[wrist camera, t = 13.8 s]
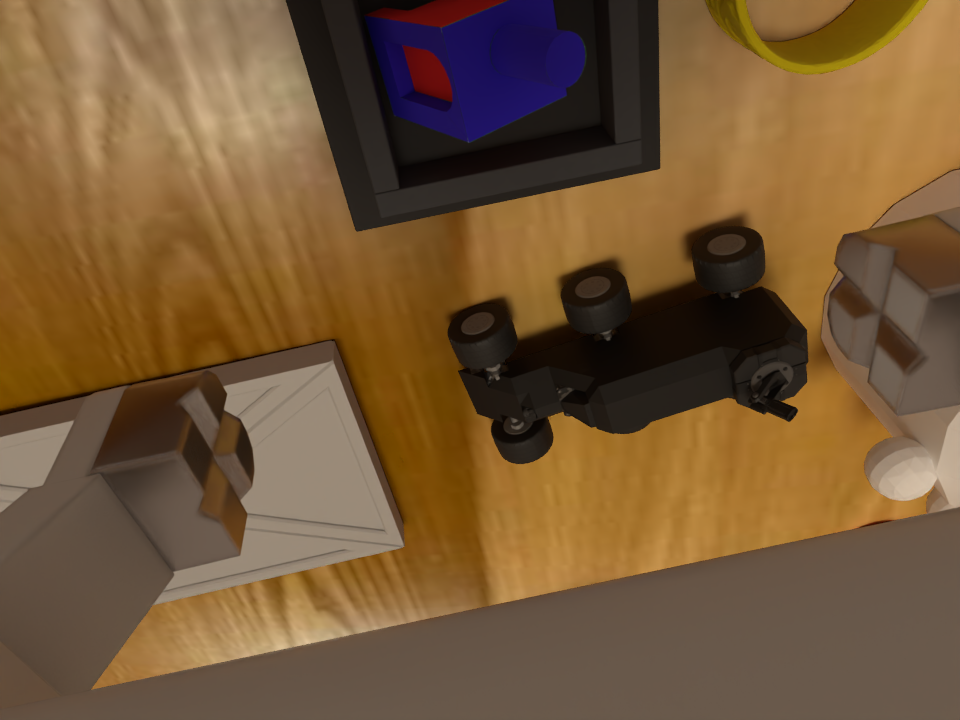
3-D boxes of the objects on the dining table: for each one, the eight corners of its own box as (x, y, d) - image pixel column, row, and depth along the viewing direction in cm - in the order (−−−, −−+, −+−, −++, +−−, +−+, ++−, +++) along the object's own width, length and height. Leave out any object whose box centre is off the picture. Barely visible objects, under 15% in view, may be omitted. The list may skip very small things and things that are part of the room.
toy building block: (483, 75, 28) (624, 108, 23) (393, 116, 27) (519, 162, 21) (462, -23, 26) (612, -15, 20) (362, 15, 25) (493, 36, 19)
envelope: (402, 520, 43) (334, 336, 34) (404, 550, 41) (333, 364, 32) (6, 611, 42) (-159, 449, 34) (-9, 645, 41) (-188, 483, 32)
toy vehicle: (762, 346, 37) (850, 466, 30) (490, 434, 39) (515, 568, 32) (748, 210, 33) (850, 316, 26) (437, 317, 34) (453, 445, 27)
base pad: (246, -142, 23) (231, -138, 20) (648, -227, 23) (680, -233, 20) (356, 224, 31) (354, 258, 28) (654, 162, 31) (678, 191, 28)
